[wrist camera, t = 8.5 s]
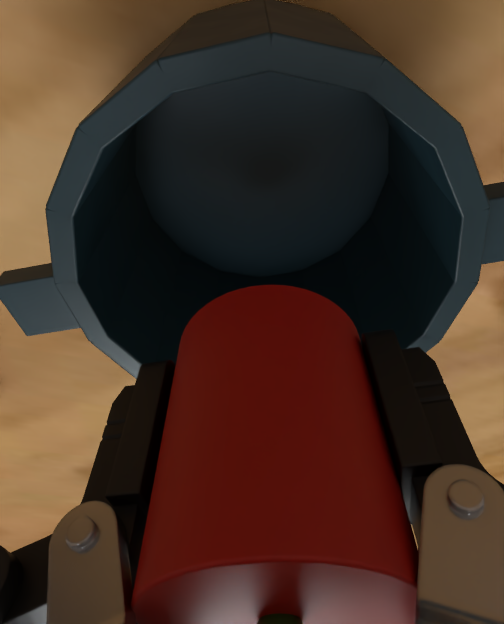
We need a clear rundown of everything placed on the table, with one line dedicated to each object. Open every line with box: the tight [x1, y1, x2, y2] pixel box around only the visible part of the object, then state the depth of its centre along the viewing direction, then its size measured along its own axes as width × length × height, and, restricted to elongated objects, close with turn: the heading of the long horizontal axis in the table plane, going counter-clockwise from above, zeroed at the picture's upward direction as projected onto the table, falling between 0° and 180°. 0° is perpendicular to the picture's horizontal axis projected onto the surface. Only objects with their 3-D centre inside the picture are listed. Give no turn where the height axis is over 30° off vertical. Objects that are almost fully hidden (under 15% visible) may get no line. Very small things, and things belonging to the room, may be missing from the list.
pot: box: [0, 0, 504, 379], centre depth 18 cm, size 14×19×10 cm
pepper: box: [131, 285, 419, 624], centre depth 9 cm, size 5×5×8 cm
